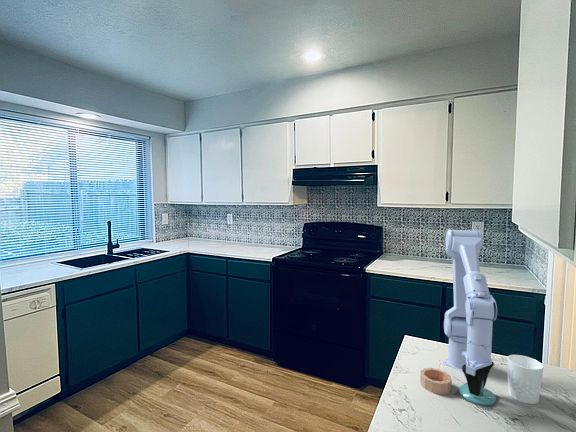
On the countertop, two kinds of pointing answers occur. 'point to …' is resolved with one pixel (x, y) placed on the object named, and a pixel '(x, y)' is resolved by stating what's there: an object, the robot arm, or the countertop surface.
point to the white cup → (524, 378)
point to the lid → (483, 399)
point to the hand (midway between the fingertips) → (477, 390)
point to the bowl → (435, 380)
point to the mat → (476, 404)
